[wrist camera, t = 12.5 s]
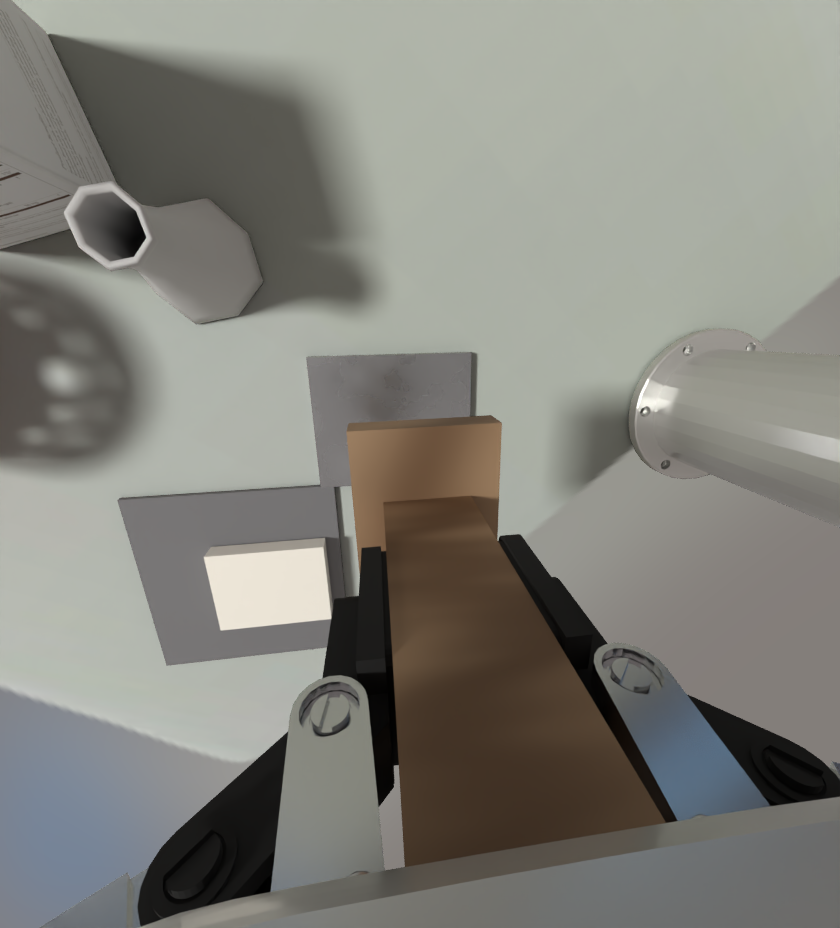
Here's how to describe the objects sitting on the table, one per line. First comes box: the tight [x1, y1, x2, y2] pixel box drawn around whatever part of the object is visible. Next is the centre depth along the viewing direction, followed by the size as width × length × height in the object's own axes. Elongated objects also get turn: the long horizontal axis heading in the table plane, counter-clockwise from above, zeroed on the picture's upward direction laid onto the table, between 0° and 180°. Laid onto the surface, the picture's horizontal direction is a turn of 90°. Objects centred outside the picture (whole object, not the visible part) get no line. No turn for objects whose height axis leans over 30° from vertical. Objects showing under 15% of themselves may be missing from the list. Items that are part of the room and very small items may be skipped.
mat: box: [118, 485, 345, 665], centre depth 33 cm, size 16×16×1 cm
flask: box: [64, 181, 263, 324], centre depth 21 cm, size 7×7×10 cm
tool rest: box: [306, 352, 472, 488], centre depth 30 cm, size 12×10×1 cm
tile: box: [204, 538, 333, 631], centre depth 32 cm, size 2×7×9 cm
